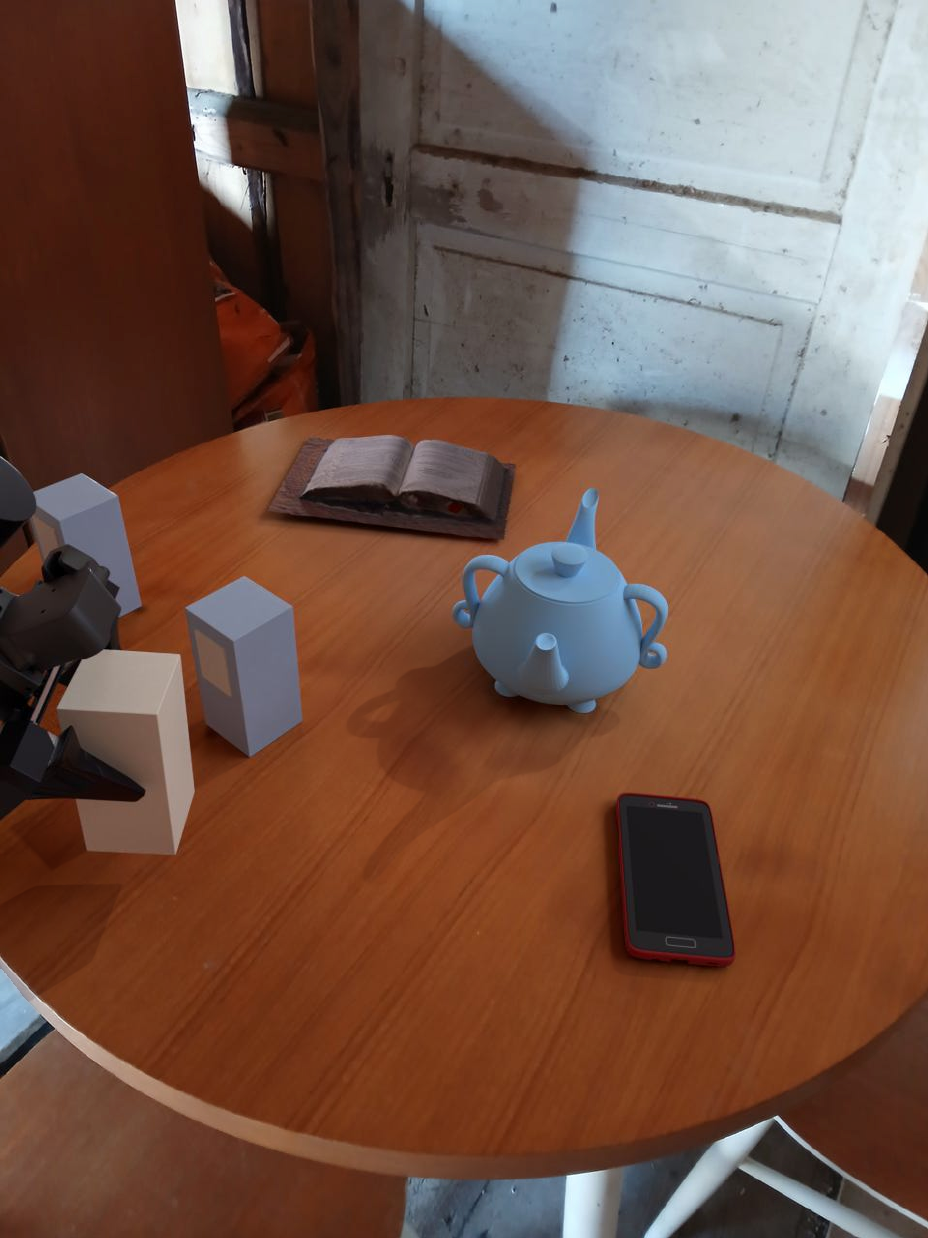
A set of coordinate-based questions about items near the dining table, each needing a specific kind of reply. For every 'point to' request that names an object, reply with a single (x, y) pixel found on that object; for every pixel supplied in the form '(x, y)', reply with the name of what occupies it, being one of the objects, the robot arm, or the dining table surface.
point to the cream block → (133, 747)
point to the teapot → (561, 620)
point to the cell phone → (672, 881)
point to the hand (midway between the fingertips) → (153, 755)
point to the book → (399, 485)
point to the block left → (87, 530)
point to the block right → (246, 664)
